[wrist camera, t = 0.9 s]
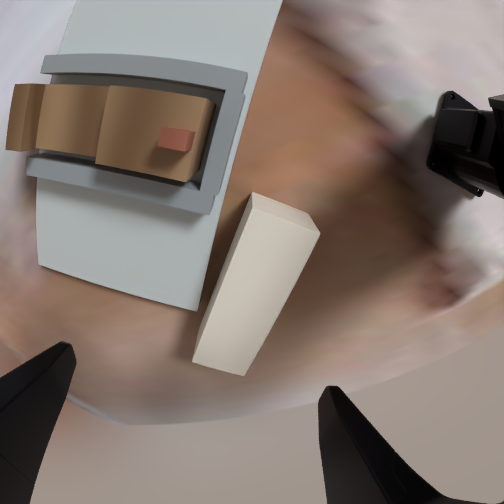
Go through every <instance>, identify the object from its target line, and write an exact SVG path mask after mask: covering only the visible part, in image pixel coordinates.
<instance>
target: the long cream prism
mask: <svg viewBox="0 0 504 504" xmlns="http://www.w3.org/2000/svg"><path fill="white" fill-rule="evenodd" d="M320 234H321V233H320V232H319V230H318V229H317V227H316V225H315V224H314V222H313V221H312V219H311V217H310V216H309V214H308V213H305V212H303V211H300V210H298V209H295V208H293V207H290V206H288V205H285V204H283V203H280V202H278V201H275V200H272V199H270V198H267V197H265V196H262V195H259V194H257V193H254V192H252V193H251V196H250V198H249V201H248V203H247V206H246V208H245V211H244V213H243V216H242V218H241V221H240V223H239V226H238V228H237V231H236V233H235V236H234V238H233V241H232V243H231V246H230V249H229V251H228V254H227V256H226V259H225V261H224V264H223V267H222V269H221V272H220V274H219V277H218V280H217V282H216V285H215V288H214V290H213V293H212V295H211V298H210V301H209V303H208V306H207V309H206V311H205V314H204V317H203V319H202V322H201V325H200V327H199V330H198V335H197V340H196V344H195V349H194V354H193V358H192V362H194V363H197V364H200V365H204V366H207V367H210V368H214V369H218V370H221V371H225V372H229V373H233V374H236V375H240V376H244V375H245V374H246V372H247V370H248V369H249V367H250V365H251V363H252V362H253V360H254V358H255V357H256V355H257V353H258V351H259V349H260V348H261V346H262V344H263V342H264V341H265V339H266V337H267V335H268V333H269V332H270V330H271V328H272V326H273V324H274V323H275V321H276V319H277V317H278V315H279V313H280V312H281V310H282V308H283V306H284V304H285V302H286V300H287V299H288V297H289V295H290V293H291V291H292V289H293V287H294V285H295V283H296V281H297V280H298V278H299V276H300V274H301V272H302V270H303V268H304V266H305V264H306V262H307V260H308V258H309V256H310V254H311V252H312V250H313V248H314V246H315V244H316V242H317V240H318V238H319V236H320Z"/></svg>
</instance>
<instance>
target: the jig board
mask: <svg viewBox="0 0 504 504" xmlns="http://www.w3.org/2000/svg"><path fill="white" fill-rule="evenodd" d="M282 1H283V0H77V1H76V4H75V6H74V9H73V11H72V14H71V16H70V19H69V22H68V24H67V27H66V30H65V33H64V36H63V39H62V42H61V45H60V48H59V52H58V55H46V56H45V57H44V61H43V65H42V68H41V72H40V73H44V74H52V78H51V82H50V84H66V85H93V86H108V87H110V85H115V86H126V87H136V88H144V89H152V90H159V91H166V92H172V93H179V94H184V95H190V96H195V97H201V98H206V99H208V100H210V101H211V102H213V103H215V104H216V109H215V112H214V116H213V120H212V123H211V127H210V131H209V135H208V139H207V143H206V147H205V151H204V155H203V159H202V163H201V167H200V170H199V171H198V172H197V173H196V174H194V175H193V176H192V177H191V178H190V179H189V180H188V181H187V182H182V181H178V180H174V179H169V178H165V177H160V176H155V175H151V174H146V173H141V172H136V171H131V170H126V169H121V168H116V167H111V166H106V165H100V164H95V161H96V157H92V156H86V155H80V154H74V153H67V152H61V151H54V150H47V149H40V148H39V154H37V155H33V156H29V157H27V162H26V175H29V176H34V177H37V193H36V226H37V248H38V261H39V265H42V266H45V267H48V268H50V269H53V270H56V271H59V272H62V273H65V274H68V275H71V276H74V277H77V278H80V279H83V280H86V281H89V282H92V283H96V284H99V285H102V286H105V287H109V288H112V289H115V290H119V291H122V292H125V293H129V294H132V295H136V296H139V297H143V298H146V299H150V300H154V301H157V302H161V303H165V304H169V305H173V306H177V307H180V308H184V309H188V310H193V311H198V307H199V303H200V298H201V293H202V289H203V284H204V280H205V275H206V271H207V267H208V262H209V258H210V254H211V249H212V245H213V241H214V237H215V233H216V229H217V224H218V220H219V216H220V212H221V208H222V204H223V200H224V197H225V193H226V189H227V185H228V181H229V177H230V173H231V170H232V166H233V162H234V158H235V155H236V151H237V147H238V144H239V140H240V137H241V133H242V129H243V126H244V122H245V119H246V115H247V112H248V109H249V105H250V102H251V98H252V95H253V92H254V88H255V85H256V82H257V78H258V75H259V72H260V69H261V65H262V62H263V59H264V56H265V53H266V49H267V46H268V43H269V40H270V37H271V34H272V31H273V28H274V25H275V22H276V19H277V16H278V13H279V10H280V7H281V4H282Z"/></svg>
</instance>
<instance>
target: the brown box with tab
mask: <svg viewBox="0 0 504 504" xmlns="http://www.w3.org/2000/svg"><path fill="white" fill-rule="evenodd" d="M215 109H216V104H215V103H213V102H211V101H210V100H208V99H206V98H201V97H195V96H190V95H184V94H179V93H172V92H166V91H159V90H152V89H144V88H136V87H126V86H115V85H110V87H108V86H93V85H66V84H15V87H14V92H13V97H12V102H11V108H10V115H9V122H8V130H7V140H6V150H12V151H20V152H21V151H25V150H29V149H33V148H40V149H47V150H54V151H61V152H67V153H74V154H80V155H86V156H92V157H96V161H95V164H100V165H106V166H111V167H116V168H121V169H126V170H131V171H136V172H141V173H146V174H151V175H155V176H160V177H165V178H169V179H174V180H178V181H182V182H187V181H188V180H189V179H190V178H191V177H192V176H193V175H194V174H196V173H197V172H198V171H199V170H200V167H201V163H202V159H203V155H204V151H205V147H206V143H207V139H208V135H209V131H210V127H211V123H212V120H213V116H214V112H215Z"/></svg>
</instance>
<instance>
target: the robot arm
mask: <svg viewBox="0 0 504 504" xmlns="http://www.w3.org/2000/svg"><path fill="white" fill-rule="evenodd" d="M451 95H452V99H451ZM488 100H489V104H490V107H492V110H493V111H485V110H478V109H477V108H476V107H474V106H473V105H472V104H470V103H469V102H468V101H466V100H465V99H464V98H462V97H461V96H460V95H458V94H457V93H455V92H454V91H447V92H446V93H445V97H444V101H443V105H442V109H441V110H440V114H439V118H438V122H437V126H436V129H435V133H434V136H433V142H432V146H431V149H430V152H429V155H428V159H427V163H426V164H427V167H428V169H430V170H431V171H433V172H435V173H437V174H439V175H441V176H443V177H444V178H446V179H448V180H450V181H452V182H453V183H455V184H457V185H458V186H460V187H462V188H464V189H465V190H467V191H469V192H470V193H472V194H473V195H475V196H477V197H481V196H482V194H483V192H484V190H485V191H487V192H489V193H492V194H494V195H496V196H498V197H500V198H502V199H504V95H499V96H494V97H490V98H488ZM433 161H434V166H432V162H433ZM478 189H479V191H478ZM75 367H76V357H75V354H74V350H73V347H72V345H71V344H70V343H67V342H63V341H61V342H59V343H57V344H55V345H54V346H52V347H50V348H49V349H47V350H45V351H44V352H42V353H40V354H39V355H37V356H35V357H34V358H32V359H30V360H29V361H27V362H25V363H24V364H22V365H20V366H19V367H17V368H16V369H14V370H13V371H11V372H9V373H7V374H6V375H4V376H2V377H1V378H0V504H30V500H31V496H32V493H33V489H34V484H35V481H36V478H37V475H38V472H39V469H40V466H41V462H42V459H43V456H44V453H45V451H46V448H47V445H48V442H49V440H50V437H51V434H52V432H53V429H54V426H55V424H56V421H57V419H58V416H59V413H60V411H61V409H62V406H63V404H64V401H65V399H66V396H67V393H68V389H69V386H70V383H71V379H72V376H73V373H74V370H75ZM318 420H319V445H320V451H321V459H322V467H323V474H324V482H325V489H326V497H327V504H486V503H478V502H470V501H464V500H458V499H452V498H449V497H446V496H444V495H442V494H441V493H440V492H438V491H437V490H436V489H435V488H433V487H432V486H431V485H430V484H429V483H427V482H426V481H425V480H424V479H423V478H422V477H421V476H419V475H418V474H417V473H416V472H415V471H414V470H413V469H412V468H411V467H410V466H409V465H408V464H407V463H406V462H405V461H404V460H403V459H402V458H401V457H400V456H399V455H398V454H397V453H396V452H395V450H394V449H393V448H392V447H391V446H390V445H389V443H388V442H387V441H386V440H385V439H384V438H383V437H382V436H381V435H380V433H379V432H378V431H377V430H376V429H375V428H374V427H373V426H372V424H371V423H370V422H369V421H368V420H367V419H366V418H365V416H364V415H363V414H362V413H361V412H360V411H359V409H358V408H357V407H356V406H355V405H354V404H353V403H352V401H351V400H350V399H349V398H348V397H347V396H346V394H345V393H344V392H343V391H342V390H341V389H340V388H339V387H338V386H327V387H326V388H325V389H324V391H323V393H322V395H321V397H320V399H319V402H318ZM498 504H504V501H503V502H501V503H498Z"/></svg>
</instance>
